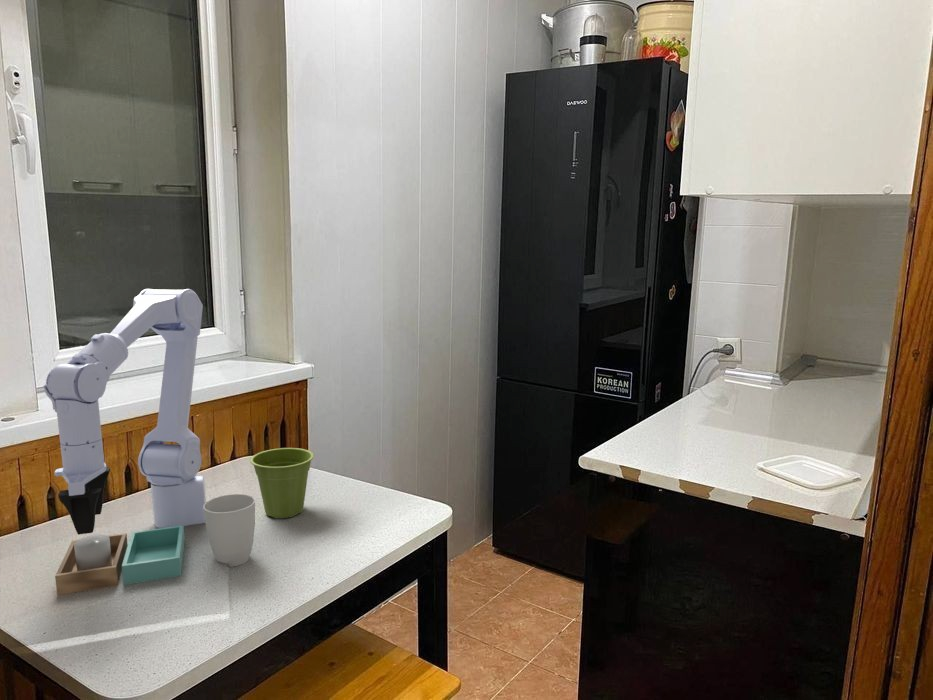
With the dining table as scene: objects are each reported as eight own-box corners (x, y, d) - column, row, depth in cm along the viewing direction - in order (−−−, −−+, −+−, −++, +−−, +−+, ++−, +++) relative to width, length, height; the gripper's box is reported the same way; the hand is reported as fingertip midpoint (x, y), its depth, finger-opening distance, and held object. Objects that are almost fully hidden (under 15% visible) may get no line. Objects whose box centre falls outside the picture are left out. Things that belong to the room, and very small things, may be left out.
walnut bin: (128, 553, 121) (126, 532, 120) (118, 590, 108) (115, 567, 108) (74, 561, 118) (72, 540, 117) (57, 599, 106) (55, 576, 105)
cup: (268, 552, 120) (264, 497, 119) (238, 574, 113) (234, 515, 111) (228, 546, 123) (224, 491, 121) (196, 567, 116) (192, 509, 114)
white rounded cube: (114, 561, 116) (111, 532, 115) (110, 575, 111) (107, 545, 111) (80, 566, 114) (77, 537, 114) (74, 580, 110) (71, 550, 109)
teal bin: (185, 545, 123) (183, 525, 123) (181, 580, 111) (179, 557, 111) (133, 553, 121) (131, 532, 120) (124, 589, 109) (121, 566, 108)
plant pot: (269, 529, 130) (265, 471, 128) (244, 510, 139) (240, 455, 137) (326, 513, 137) (324, 457, 135) (299, 496, 146) (297, 443, 144)
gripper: (61, 430, 115) (70, 510, 117) (40, 456, 101) (50, 545, 104) (109, 426, 117) (117, 504, 119) (95, 451, 104) (104, 538, 106)
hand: (89, 523), depth 112 cm, fingers open, 7 cm apart
